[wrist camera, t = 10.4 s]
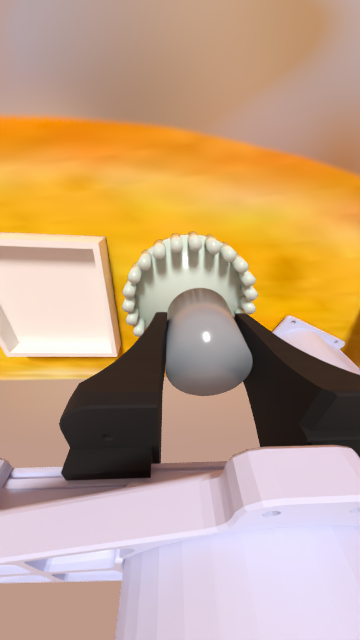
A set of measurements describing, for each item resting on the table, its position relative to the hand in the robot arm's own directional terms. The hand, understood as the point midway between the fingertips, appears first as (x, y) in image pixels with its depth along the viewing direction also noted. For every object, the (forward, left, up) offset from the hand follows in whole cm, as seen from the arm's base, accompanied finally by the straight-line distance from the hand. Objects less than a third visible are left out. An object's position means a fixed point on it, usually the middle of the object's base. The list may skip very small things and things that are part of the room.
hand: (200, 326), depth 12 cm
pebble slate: (0, 0, -1) cm, 1 cm away
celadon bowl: (-1, +2, -9) cm, 9 cm away
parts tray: (+11, +8, -9) cm, 16 cm away
